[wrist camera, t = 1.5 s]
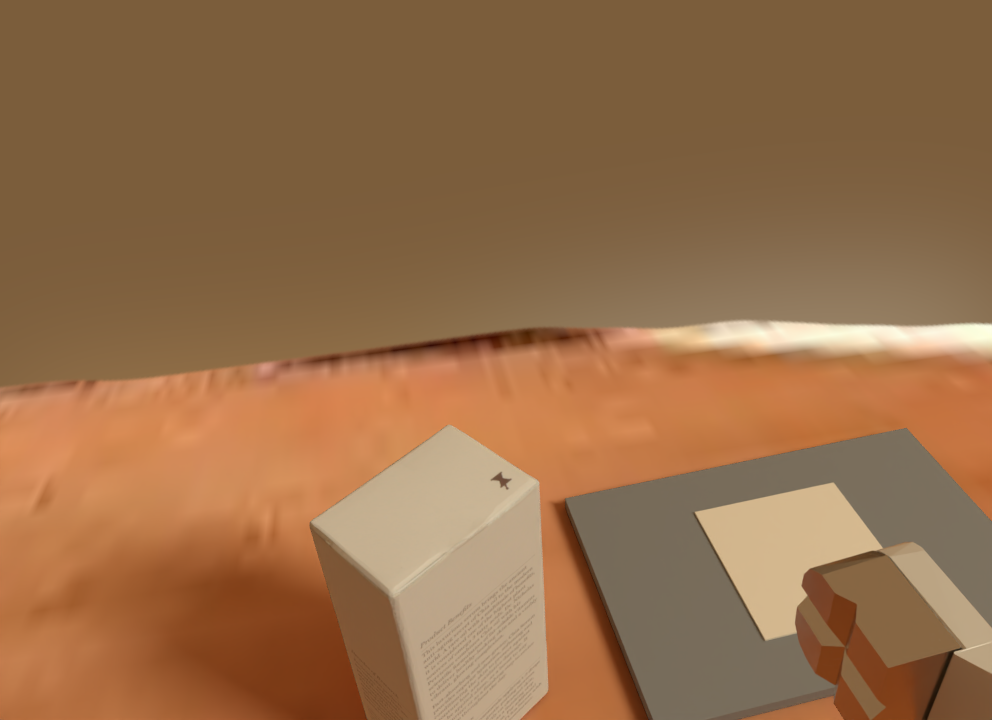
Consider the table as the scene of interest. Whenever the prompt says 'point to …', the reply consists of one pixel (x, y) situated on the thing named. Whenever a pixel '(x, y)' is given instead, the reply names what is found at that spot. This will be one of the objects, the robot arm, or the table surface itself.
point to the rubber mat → (761, 564)
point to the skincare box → (440, 584)
